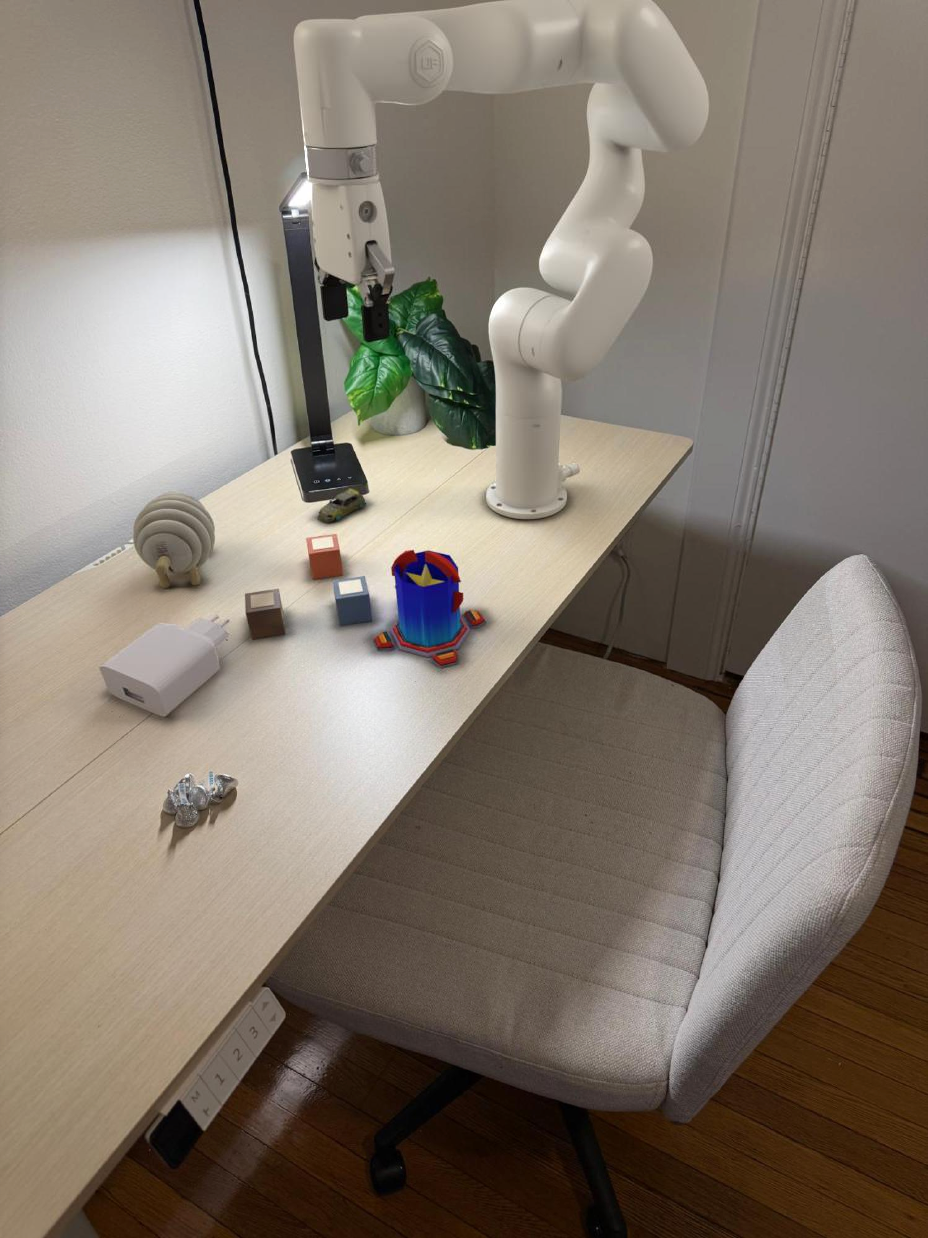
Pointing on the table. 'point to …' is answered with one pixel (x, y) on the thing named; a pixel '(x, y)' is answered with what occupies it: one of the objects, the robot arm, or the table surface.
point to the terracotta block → (324, 556)
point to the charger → (165, 664)
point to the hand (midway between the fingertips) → (356, 328)
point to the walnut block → (264, 614)
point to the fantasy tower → (428, 608)
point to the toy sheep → (174, 536)
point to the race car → (341, 505)
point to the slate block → (352, 600)
